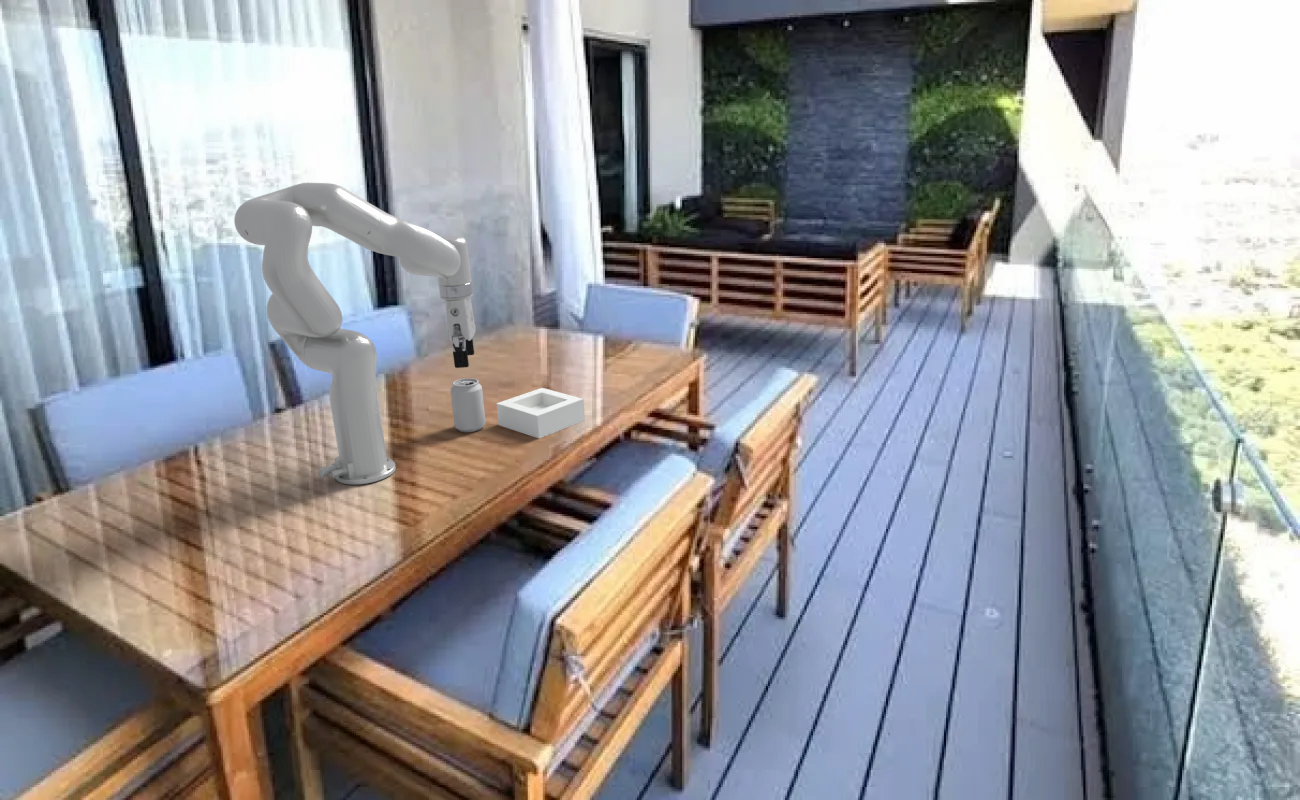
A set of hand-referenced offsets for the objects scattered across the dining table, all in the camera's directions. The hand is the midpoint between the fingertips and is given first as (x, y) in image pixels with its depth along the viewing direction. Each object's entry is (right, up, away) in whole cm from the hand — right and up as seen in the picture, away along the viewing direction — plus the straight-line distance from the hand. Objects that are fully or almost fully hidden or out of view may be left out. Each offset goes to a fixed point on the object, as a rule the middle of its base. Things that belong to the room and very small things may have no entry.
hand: (464, 360), depth 200 cm
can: (0, -16, +5) cm, 17 cm away
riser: (+17, -15, +7) cm, 24 cm away
